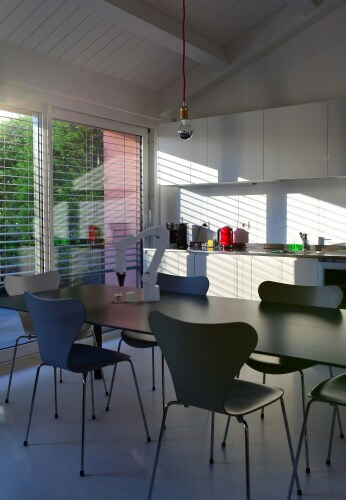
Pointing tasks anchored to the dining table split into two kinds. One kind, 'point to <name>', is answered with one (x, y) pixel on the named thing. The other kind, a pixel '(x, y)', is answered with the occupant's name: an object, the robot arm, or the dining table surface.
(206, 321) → the dining table surface
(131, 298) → the sage block
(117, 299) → the maple block
